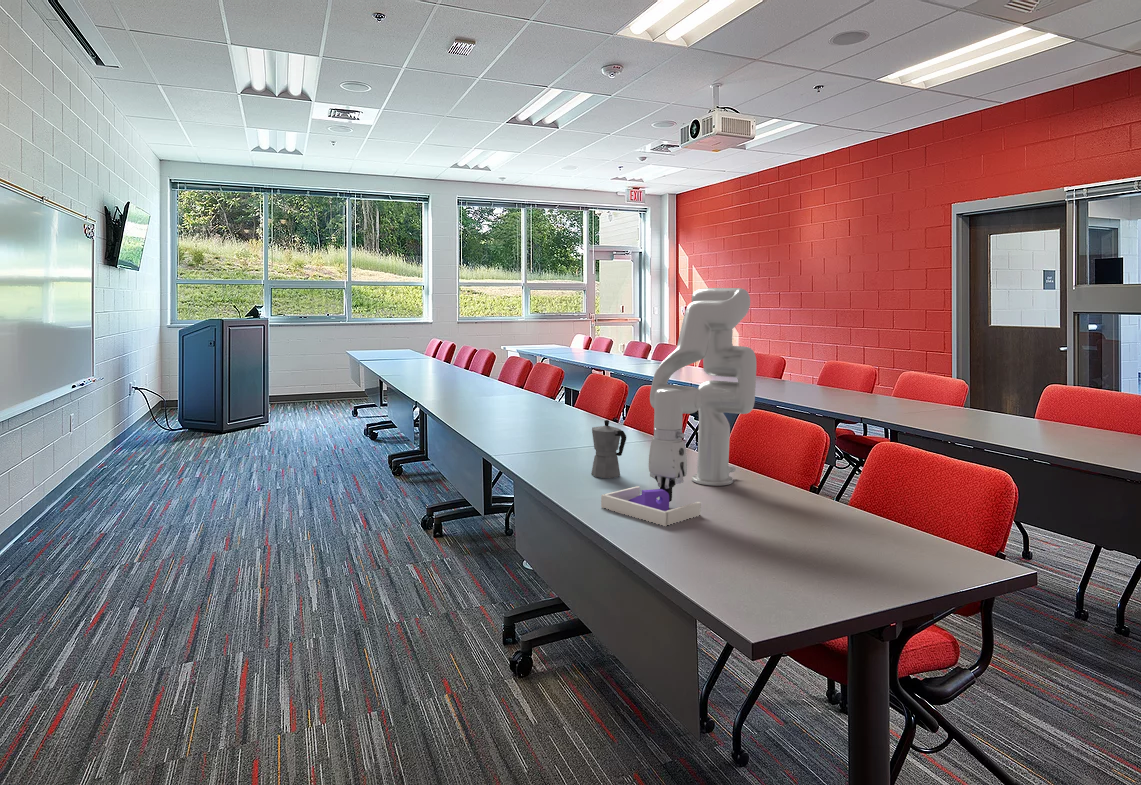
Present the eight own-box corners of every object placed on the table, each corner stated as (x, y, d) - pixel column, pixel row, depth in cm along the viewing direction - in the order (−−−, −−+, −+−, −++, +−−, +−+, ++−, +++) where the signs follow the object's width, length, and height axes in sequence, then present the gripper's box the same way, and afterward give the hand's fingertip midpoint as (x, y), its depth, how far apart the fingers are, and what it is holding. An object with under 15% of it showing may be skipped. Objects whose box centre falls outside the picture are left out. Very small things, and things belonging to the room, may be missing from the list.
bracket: (668, 516, 184) (669, 490, 183) (644, 518, 182) (644, 492, 181) (651, 503, 195) (652, 479, 194) (628, 505, 193) (628, 481, 193)
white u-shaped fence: (637, 498, 199) (637, 486, 198) (700, 515, 183) (700, 502, 183) (601, 507, 189) (601, 494, 189) (664, 526, 173) (665, 512, 173)
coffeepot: (581, 473, 228) (582, 418, 226) (602, 469, 234) (603, 416, 232) (613, 482, 216) (614, 425, 214) (635, 478, 222) (636, 422, 220)
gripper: (699, 437, 185) (696, 504, 187) (655, 429, 196) (653, 493, 198) (681, 440, 180) (678, 510, 182) (637, 432, 191) (635, 498, 193)
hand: (665, 501), depth 190 cm, fingers closed
